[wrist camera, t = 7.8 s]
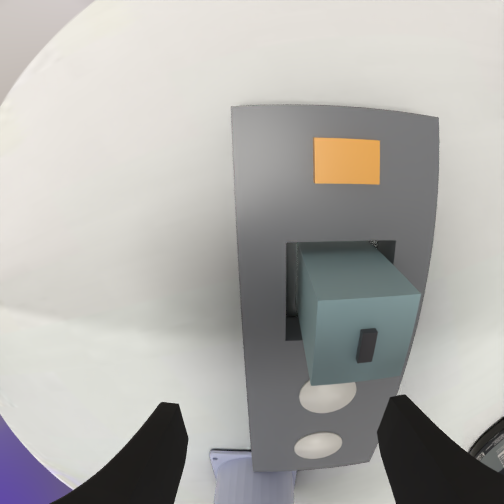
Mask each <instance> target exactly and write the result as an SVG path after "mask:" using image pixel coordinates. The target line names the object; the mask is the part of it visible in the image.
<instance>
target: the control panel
mask: <svg viewBox="0 0 504 504" xmlns="http://www.w3.org/2000/svg"><path fill="white" fill-rule="evenodd" d="M231 123H232V147H233V168H234V189H235V209H236V228H237V246H238V264H239V281H240V298H241V314H242V329H243V345H244V359H245V374H246V388H247V402H248V415H249V428H250V441H251V454H252V466H253V472H274V471H297V470H311V469H322V468H331V467H339V466H347V465H353V464H360V463H366V462H369V461H370V459H371V457H372V455H373V453H374V450H375V448H376V446H377V444H378V437H377V430H378V428H379V425H380V422H381V420H382V417H383V415H384V412H385V409H386V407H387V404H388V401H389V398H390V397H393V396H396V395H397V392H398V389H399V386H400V383H401V380H402V377H403V374H404V371H405V368H406V365H407V361H408V358H409V354H410V351H411V347H412V344H413V340H414V336H415V332H416V328H417V324H418V320H419V316H420V311H421V307H422V302H423V297H424V292H425V287H426V282H427V276H428V271H429V265H430V258H431V252H432V244H433V236H434V228H435V218H436V208H437V194H438V176H439V118H438V117H433V116H427V115H420V114H414V113H407V112H399V111H391V110H382V109H372V108H361V107H347V106H329V105H248V106H231ZM377 240H378V247H377V249H378V250H379V251H380V252H381V253H382V254H383V255H384V256H385V257H386V258H387V259H388V260H389V261H390V262H391V263H392V264H393V265H394V266H395V267H396V268H397V269H398V270H399V271H400V272H401V273H402V274H403V275H404V276H405V277H406V278H407V279H408V280H409V281H410V283H411V284H412V285H413V286H414V287H415V288H416V289H417V290H418V291H419V292H420V293H421V297H420V302H419V307H418V311H417V316H416V320H415V324H414V329H413V333H412V337H411V341H410V344H409V348H408V352H407V355H406V359H405V362H404V366H403V369H402V372H401V376H395V377H389V378H382V379H375V380H368V381H359V382H351V383H341V384H330V385H318V386H311V384H310V378H309V373H308V367H307V361H306V356H305V350H304V345H303V339H302V334H301V328H300V323H299V318H298V317H286V242H326V241H377Z"/></svg>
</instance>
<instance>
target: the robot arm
mask: <svg viewBox="0 0 504 504" xmlns="http://www.w3.org/2000/svg"><path fill="white" fill-rule="evenodd" d="M377 437H378V443H379V448H380V453H381V457H382V460H383V464H384V467H385V470H386V473H387V476H388V479H389V482H390V485H391V489H392V492H393V495H394V498H395V501H396V504H504V475H503V474H501V473H499V472H497V471H495V470H493V469H492V468H490V467H488V466H487V465H485V464H483V463H482V462H480V461H479V460H477V459H476V458H474V457H473V456H471V455H470V454H469V453H467V452H466V451H465V450H464V449H462V448H461V447H460V446H459V445H457V444H456V443H455V442H454V441H453V440H452V439H450V438H449V437H448V436H447V435H446V434H445V433H444V432H443V431H442V430H441V429H439V428H438V427H437V426H436V425H435V424H434V423H433V422H432V421H431V420H430V419H429V418H428V417H427V416H426V415H425V414H424V413H423V412H422V411H421V410H420V409H419V408H418V407H417V406H416V405H415V404H414V403H413V402H412V401H411V400H410V399H409V398H408V397H407V396H406V395H399V396H393V397H390V398H389V401H388V404H387V407H386V409H385V412H384V415H383V417H382V420H381V422H380V425H379V428H378V430H377ZM187 445H188V435H187V432H186V428H185V425H184V421H183V418H182V414H181V411H180V407H179V404H176V403H166V402H161V403H160V404H159V405H158V406H157V408H156V409H155V410H154V412H153V413H152V414H151V416H150V417H149V418H148V419H147V421H146V422H145V423H144V424H143V426H142V427H141V428H140V429H139V430H138V432H137V433H136V434H135V435H134V436H133V437H132V439H131V440H130V441H129V442H128V443H127V444H126V445H125V446H124V447H123V449H122V450H121V451H120V452H119V453H118V454H117V455H116V456H115V457H114V458H113V459H112V460H111V461H110V462H109V463H107V464H106V465H105V466H104V467H103V468H102V469H101V470H100V471H98V472H97V473H96V474H95V475H94V476H92V477H91V478H90V479H89V480H87V481H86V482H85V483H83V484H82V485H80V486H79V487H77V488H76V489H75V490H73V491H71V492H70V493H68V494H67V495H65V496H63V497H61V498H60V499H58V500H56V501H54V502H52V503H50V504H174V501H175V497H176V494H177V490H178V486H179V483H180V479H181V476H182V472H183V468H184V465H185V459H186V453H187ZM209 457H210V460H211V464H212V467H213V471H214V474H215V478H216V489H215V496H214V504H294V486H295V480H296V473H297V471H274V472H253V466H252V454H251V452H242V451H216V450H213V451H210V453H209Z"/></svg>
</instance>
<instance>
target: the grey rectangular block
mask: <svg viewBox="0 0 504 504" xmlns="http://www.w3.org/2000/svg"><path fill="white" fill-rule="evenodd" d="M420 297H421V293H420V292H419V291H418V290H417V289H416V288H415V287H414V286H413V285H412V284H411V283H410V281H409V280H408V279H407V278H406V277H405V276H404V275H403V274H402V273H401V272H400V271H399V270H398V269H397V268H396V267H395V266H394V265H393V264H392V263H391V262H390V261H389V260H388V259H387V258H386V257H385V256H384V255H383V254H382V253H381V252H380V251H379V250H378V249H377V248H376V247H375V246H374V245H372V244H371V243H370V242H369V241H326V242H297V281H296V307H297V312H298V318H299V323H300V328H301V334H302V339H303V345H304V350H305V356H306V361H307V367H308V373H309V378H310V384H311V386H318V385H330V384H341V383H351V382H359V381H368V380H375V379H382V378H389V377H395V376H401V372H402V369H403V366H404V362H405V359H406V355H407V352H408V348H409V344H410V341H411V337H412V333H413V329H414V324H415V320H416V316H417V311H418V307H419V302H420Z"/></svg>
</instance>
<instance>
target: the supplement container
mask: <svg viewBox="0 0 504 504" xmlns="http://www.w3.org/2000/svg"><path fill="white" fill-rule="evenodd" d="M470 455H471V456H473V457H474V458H476V459H477V460H479V461H480V462H482V463H483V464H485V465H487V466H488V467H490V468H492V469H493V470H495V471H497V472H499V473H501V474H503V475H504V419H502V420H501V421H499V422H498V423H497V424H496V425H494V426H493V427H492V428H491V429H490V430H489V431H487V432H486V433H485V434H484V435H483V436H482V437H481V438H480V439H479V441H478V442H477V443H476V444H475V446H474V447H473V449H472V450H471V452H470Z"/></svg>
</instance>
